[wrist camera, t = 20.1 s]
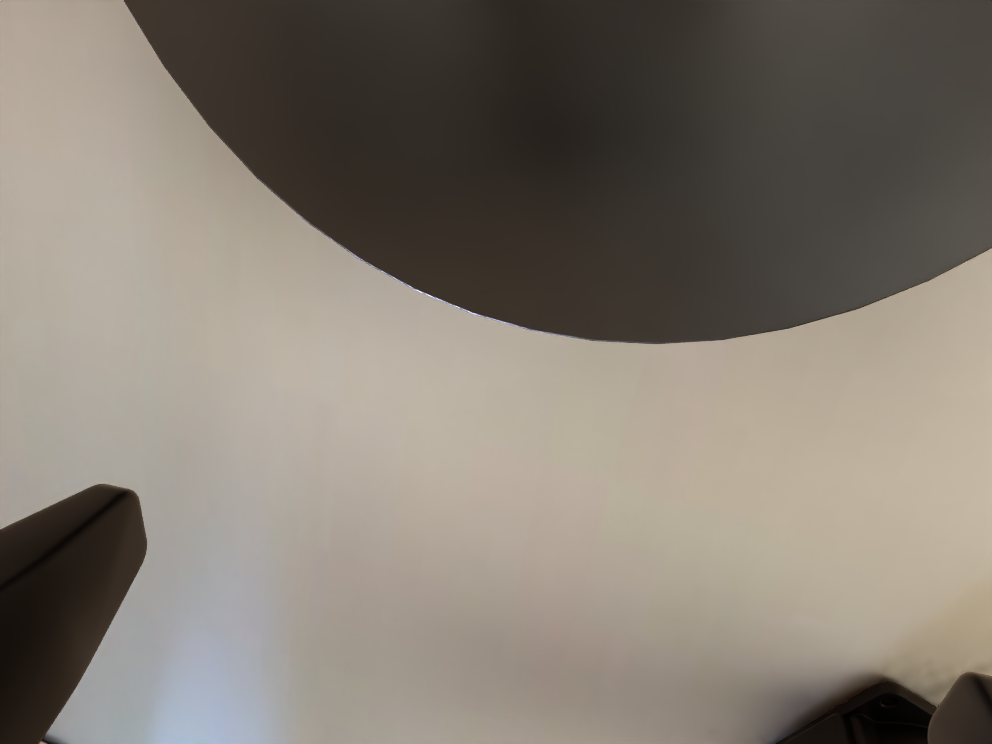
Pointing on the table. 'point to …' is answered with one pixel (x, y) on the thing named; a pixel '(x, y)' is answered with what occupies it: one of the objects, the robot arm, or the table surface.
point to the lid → (612, 148)
